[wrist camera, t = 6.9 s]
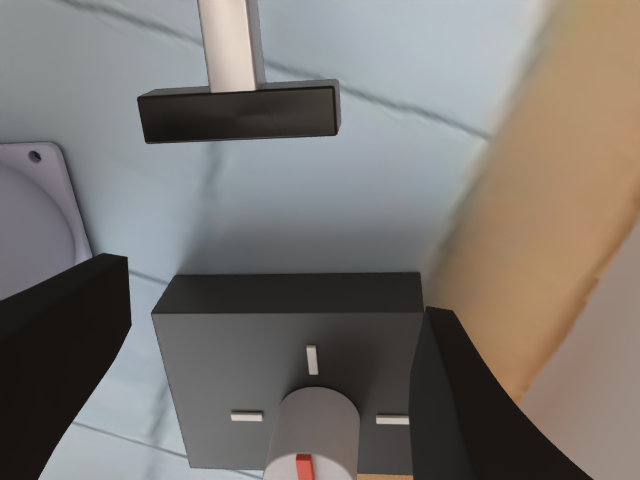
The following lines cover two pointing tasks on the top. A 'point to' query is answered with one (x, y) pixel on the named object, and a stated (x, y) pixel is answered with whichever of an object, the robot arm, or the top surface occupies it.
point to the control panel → (289, 359)
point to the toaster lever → (238, 90)
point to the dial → (314, 437)
